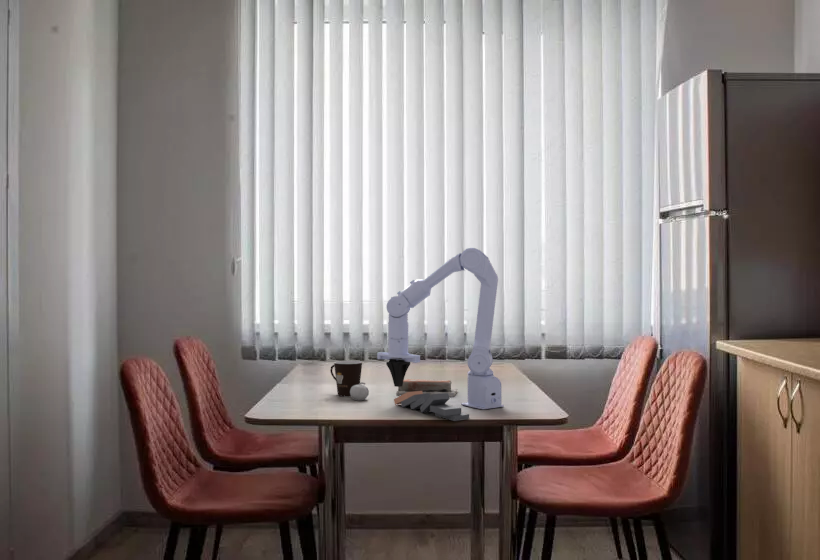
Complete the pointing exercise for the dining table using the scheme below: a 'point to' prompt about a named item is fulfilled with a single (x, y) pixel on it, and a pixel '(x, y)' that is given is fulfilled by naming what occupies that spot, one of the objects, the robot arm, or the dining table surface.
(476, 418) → the dining table surface
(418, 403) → the domino
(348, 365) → the coffee mug
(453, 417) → the domino
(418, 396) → the domino
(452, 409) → the domino
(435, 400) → the domino
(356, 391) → the garlic
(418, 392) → the domino
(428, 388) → the packaged product
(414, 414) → the dining table surface
